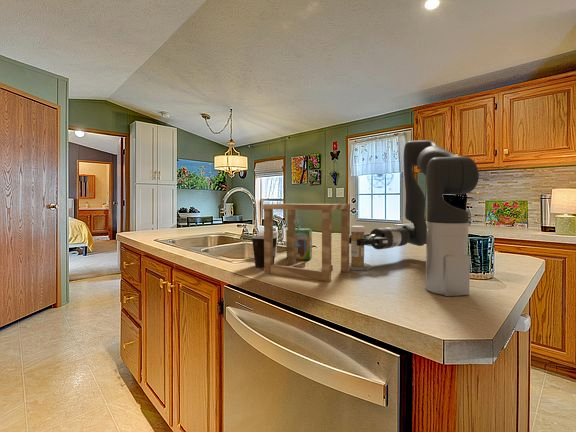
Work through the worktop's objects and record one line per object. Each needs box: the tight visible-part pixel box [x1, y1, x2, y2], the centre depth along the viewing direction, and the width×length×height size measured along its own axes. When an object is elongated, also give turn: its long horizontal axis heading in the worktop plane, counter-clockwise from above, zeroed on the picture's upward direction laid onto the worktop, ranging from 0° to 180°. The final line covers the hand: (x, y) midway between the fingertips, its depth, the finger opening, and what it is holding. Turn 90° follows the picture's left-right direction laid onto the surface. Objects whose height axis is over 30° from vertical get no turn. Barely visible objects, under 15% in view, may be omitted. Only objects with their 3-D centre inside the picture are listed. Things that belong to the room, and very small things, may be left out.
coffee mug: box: [251, 235, 278, 269], centre depth 109 cm, size 12×9×10 cm
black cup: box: [257, 230, 279, 257], centre depth 129 cm, size 8×8×10 cm
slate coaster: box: [349, 262, 373, 272], centre depth 108 cm, size 10×10×1 cm
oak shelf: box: [262, 203, 351, 283], centre depth 100 cm, size 17×22×22 cm
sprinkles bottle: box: [350, 225, 366, 267], centre depth 107 cm, size 5×5×13 cm
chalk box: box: [285, 220, 313, 261], centre depth 125 cm, size 9×9×15 cm
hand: (351, 241), depth 106 cm, fingers open, 5 cm apart
